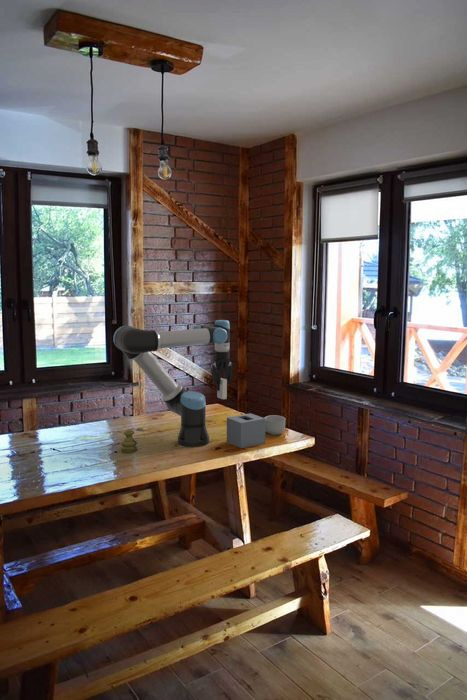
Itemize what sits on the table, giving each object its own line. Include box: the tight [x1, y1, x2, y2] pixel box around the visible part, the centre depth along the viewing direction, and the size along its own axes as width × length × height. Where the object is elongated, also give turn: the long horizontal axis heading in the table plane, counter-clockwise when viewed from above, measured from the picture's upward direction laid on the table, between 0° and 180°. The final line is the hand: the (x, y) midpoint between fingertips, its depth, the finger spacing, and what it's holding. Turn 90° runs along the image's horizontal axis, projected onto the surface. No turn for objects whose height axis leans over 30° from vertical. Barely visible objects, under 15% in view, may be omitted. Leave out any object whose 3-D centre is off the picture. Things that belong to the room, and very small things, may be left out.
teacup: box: [264, 414, 286, 436], centre depth 292 cm, size 14×11×8 cm
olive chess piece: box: [120, 428, 138, 454], centre depth 263 cm, size 7×7×10 cm
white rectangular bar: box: [216, 377, 228, 400], centre depth 296 cm, size 2×5×10 cm, turn 34°
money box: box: [226, 412, 266, 449], centre depth 276 cm, size 14×12×12 cm
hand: (221, 396), depth 297 cm, fingers closed on white rectangular bar, 2 cm apart
